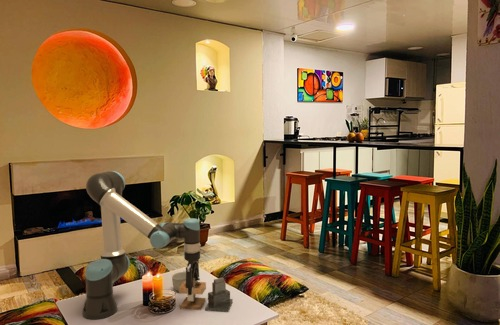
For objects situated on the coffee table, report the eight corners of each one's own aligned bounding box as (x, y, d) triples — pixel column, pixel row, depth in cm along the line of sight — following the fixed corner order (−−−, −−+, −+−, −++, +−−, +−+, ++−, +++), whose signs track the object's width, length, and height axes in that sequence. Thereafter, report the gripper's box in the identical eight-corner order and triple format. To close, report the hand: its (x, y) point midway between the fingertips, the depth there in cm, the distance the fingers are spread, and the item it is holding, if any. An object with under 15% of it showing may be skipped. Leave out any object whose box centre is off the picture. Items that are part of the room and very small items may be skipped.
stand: (179, 308, 184) (179, 282, 183) (186, 299, 194) (185, 274, 193) (200, 309, 182) (199, 283, 181) (205, 300, 192) (205, 275, 191)
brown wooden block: (179, 293, 185) (179, 287, 184) (184, 287, 192) (184, 281, 192) (202, 294, 183) (202, 288, 183) (206, 288, 190) (205, 282, 190)
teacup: (188, 294, 200) (188, 279, 200) (168, 292, 203) (168, 277, 202) (197, 283, 214) (197, 269, 213) (178, 282, 216) (178, 268, 216)
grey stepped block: (205, 310, 182) (204, 282, 181) (210, 300, 192) (210, 274, 191) (228, 312, 180) (227, 283, 179) (232, 301, 191) (232, 275, 190)
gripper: (193, 258, 176) (194, 306, 177) (205, 245, 196) (205, 289, 197) (177, 257, 177) (178, 305, 178) (190, 244, 197) (191, 288, 198)
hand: (193, 297), depth 188 cm, fingers closed on brown wooden block, 7 cm apart
